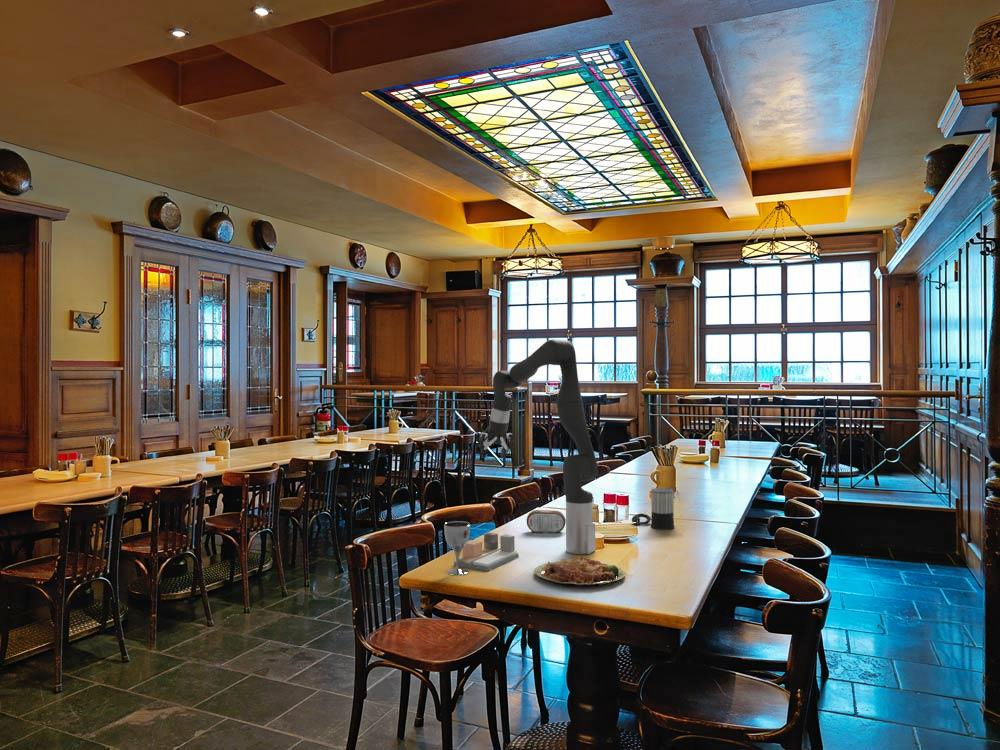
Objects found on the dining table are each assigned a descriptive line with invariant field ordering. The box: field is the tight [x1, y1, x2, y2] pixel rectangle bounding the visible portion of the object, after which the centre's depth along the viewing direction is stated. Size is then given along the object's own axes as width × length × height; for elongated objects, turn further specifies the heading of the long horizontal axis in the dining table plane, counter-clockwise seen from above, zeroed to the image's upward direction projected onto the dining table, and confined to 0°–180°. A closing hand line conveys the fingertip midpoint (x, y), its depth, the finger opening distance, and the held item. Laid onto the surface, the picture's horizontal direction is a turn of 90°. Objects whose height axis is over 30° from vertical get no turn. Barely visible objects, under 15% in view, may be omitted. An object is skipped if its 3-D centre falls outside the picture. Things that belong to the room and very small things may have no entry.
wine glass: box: [443, 520, 471, 576], centre depth 215 cm, size 8×8×15 cm
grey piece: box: [459, 532, 500, 564], centre depth 229 cm, size 6×18×6 cm, turn 149°
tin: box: [526, 509, 566, 533], centre depth 267 cm, size 15×3×8 cm, turn 84°
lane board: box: [453, 548, 519, 572], centre depth 227 cm, size 13×19×2 cm
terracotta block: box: [462, 539, 483, 559], centre depth 226 cm, size 4×4×4 cm
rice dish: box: [533, 556, 626, 586], centre depth 211 cm, size 28×28×5 cm
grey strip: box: [473, 534, 517, 567], centre depth 226 cm, size 6×18×6 cm, turn 149°
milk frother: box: [631, 487, 675, 530], centre depth 277 cm, size 14×16×15 cm
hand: (492, 457), depth 280 cm, fingers open, 8 cm apart
